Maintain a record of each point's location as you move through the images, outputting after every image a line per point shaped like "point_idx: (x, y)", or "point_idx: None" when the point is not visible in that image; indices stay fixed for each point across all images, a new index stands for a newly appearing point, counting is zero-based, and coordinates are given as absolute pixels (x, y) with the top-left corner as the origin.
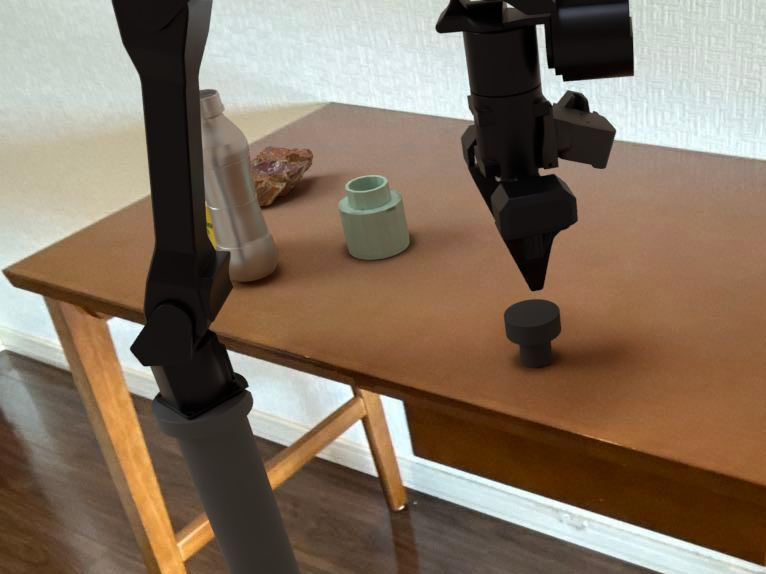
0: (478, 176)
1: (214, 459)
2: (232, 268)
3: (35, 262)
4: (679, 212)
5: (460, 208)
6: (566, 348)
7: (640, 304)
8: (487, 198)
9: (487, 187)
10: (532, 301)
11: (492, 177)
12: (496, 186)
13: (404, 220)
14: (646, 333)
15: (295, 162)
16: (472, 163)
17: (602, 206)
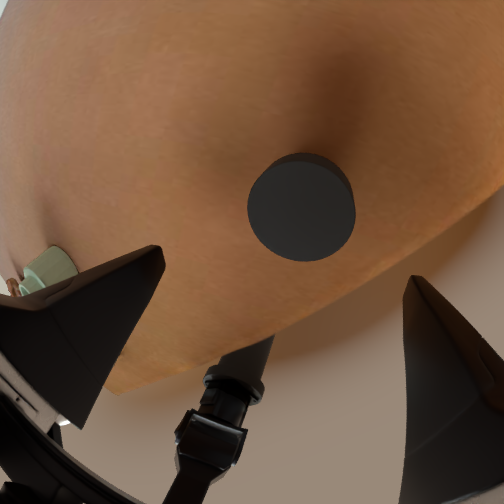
0: (74, 421)
1: (263, 370)
2: (114, 364)
3: (108, 388)
4: (47, 4)
5: (21, 198)
6: (294, 133)
7: (203, 11)
8: (101, 377)
9: (83, 393)
10: (258, 201)
11: (60, 397)
12: (72, 379)
13: (45, 260)
14: (293, 14)
15: (16, 293)
16: (56, 437)
17: (22, 76)
